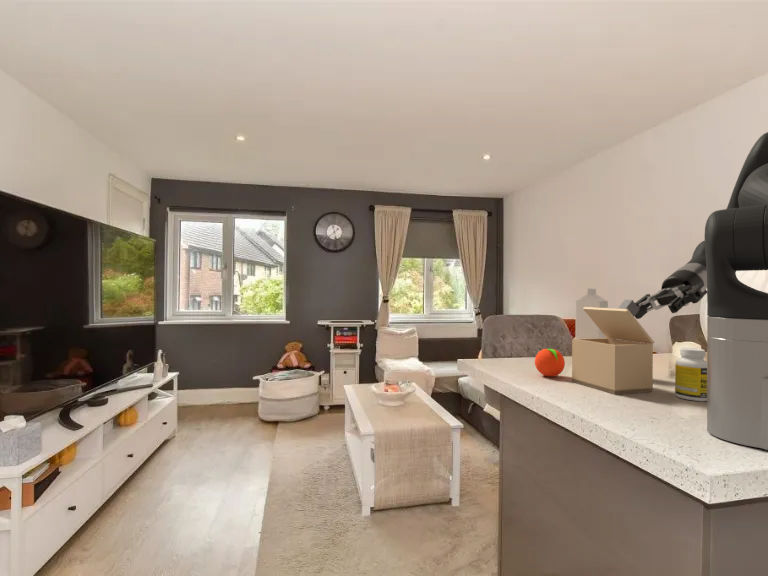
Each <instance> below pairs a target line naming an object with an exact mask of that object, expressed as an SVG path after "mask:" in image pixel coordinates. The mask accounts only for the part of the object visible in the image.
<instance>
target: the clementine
mask: <svg viewBox="0 0 768 576" xmlns="http://www.w3.org/2000/svg"><path fill="white" fill-rule="evenodd" d="M565 361H566V360H565V358H564V356H563V355H562V354H561V352H560V351H559V350H557V349H553V348H551V347H549V348H542V350H539V351H538V352H537V354H536V356H535V357H534V365H535V368H536V370H537V371H538V372H539V373H540V374H541V375H543V376H545V377H550V378H551V377H552V378H553V377H556V376H558V375H560V374H562V372H563V371H564V369H565V365H566V363H565Z"/></svg>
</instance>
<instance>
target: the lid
mask: <svg viewBox="0 0 768 576" xmlns="http://www.w3.org/2000/svg"><path fill="white" fill-rule="evenodd" d="M635 303H636V302H635V301H634V300H633V299H624V300H623V302H621V304H620V305H619V307H618V308H614V307H613V308H611V307H610V308H609V307H608V308H595V307H584V308H583V310H584V311H585V312H586V313H587V315H588V316H589V317H590V318H591V319H592V321H593V322H594V323H595V324H596V325H597V326H598V328H599V329H600V330H601V331H602V332H603V334H604V335H605V336H606V337H607V338H610V339H618V340H625V341H632V342H639V343H647V344H653V345H654V343H655V341H654V340H653V339H652V337H651V335H650V334H649V333H648V332H647V331H646V330H645V328H644V327H643V326H642V325H641V324H640V322H639V321H638V319H636V317H635V315H636V314H637V312H638V311H639V310H640V309H639V308H638V306H637V305H636V304H635Z"/></svg>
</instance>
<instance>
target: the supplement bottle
mask: <svg viewBox="0 0 768 576" xmlns="http://www.w3.org/2000/svg"><path fill="white" fill-rule="evenodd" d="M679 355H680V356H681V357H680V358H677V359H676V361H675V380H674V381H675V383H674V387H675V388H674V394H675V396H676V397H677V398H680V399H683V400H687V401H688V400H689V401H693V402H707V360H705V357H706V350H705V349H702V348H693V347H681V348H679Z"/></svg>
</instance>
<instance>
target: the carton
mask: <svg viewBox="0 0 768 576" xmlns="http://www.w3.org/2000/svg"><path fill="white" fill-rule="evenodd" d="M571 342H572V344H571V347H572V350H571V360H572V361H571V382H572V383H576V384H578V385H581V386H585V387H589V388H591V389H596V390H598V391H601V390H602V392H605V393H609V394H611V395H626V394H639V393H652V392H653V387H654V386H653V379H654V378H653V377H654V376H653V374H654V373H653V372H654V371H653V368H654V367H653V366H654V365H653V364H654V361H653V359H654V356H653V355H654V349H653V346H654V343H653V344H648V343H641V342H633V341H626V340H619V339H612V338H586V339H575V338H572V340H571Z"/></svg>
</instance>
